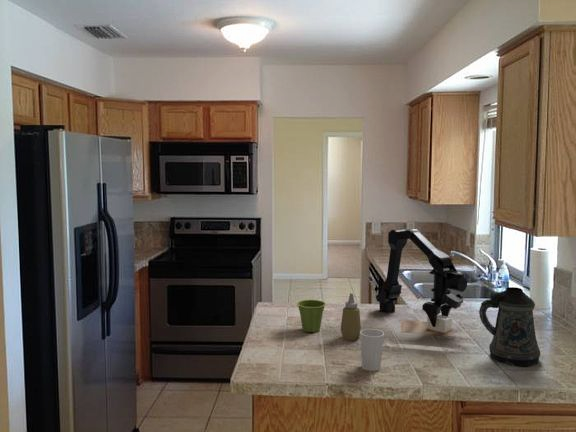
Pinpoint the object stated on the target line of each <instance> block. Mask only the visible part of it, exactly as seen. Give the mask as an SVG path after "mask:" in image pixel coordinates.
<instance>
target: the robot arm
mask: <svg viewBox="0 0 576 432" xmlns="http://www.w3.org/2000/svg"><path fill="white" fill-rule="evenodd" d="M387 236H388V237H387V243H388V245H389V248H390V251H389V258H388V266H387V272H386V279H385V280H384V281H383V283H382V285H381V288H380V291H379V293H377V294H376V295H375V299H376V302H379V312H381V313H385V314H389V313H395V312H396V303H395V302H396V301H398V299H399V297H400V294H402V287H403V286H402V284H400V283H399V272H400V268H401V261H402V255H403V254H402V252H403V249H404V248H405V246H406V245H407V242H408V240H410V241H411V242H412V243H413V244H414V245H415V246H416V247H417V248H418V249H419V250H420V252H422V253H423V255H425V257H426V258H427V261H428V264H430V266H431V268H432V270H430V271H429V274H430V275H432V276H433V287H432V288H430V289H431V292H432V294H433V295H432V298H431V299H430V301H426V302H425V303H423V304H422V306H421V307H422V310H423V311H424V313H425V314H426V316H428V318H429V320H430V322H431V324H432V326H433V327H436V321H437V315H438V314H439V315H444V316H448V317H449V315H450V312H451V310H452V309H455V310H457V309H458V308H460V307H461V305H462V303H464V297H463V294H461V293H463V292H464V291H466V289H467V287H468V281H467V279H466V278H465V274H463V273H458V271H457V268H456V266H455V264H454V263H453V259H452V257H450V256H449V255H448V254H447V253H446V252H444V251H442V250H440V249H438V248H436V247H435V246H434V244H432V243H431V242H430V241H429V240H428V239H427V238H426V237H425V236H424V235H423V234H422V233H421V232H420V231H419V230H418V229H417V228H413V229H412V228H411V229H407V230H406V229H405V228H399V229H391V230H390V231H389V232H388V234H387ZM451 290H452V291H456V292H461V293H457V294H453V293H452V291H451Z"/></svg>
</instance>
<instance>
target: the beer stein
mask: <svg viewBox="0 0 576 432" xmlns="http://www.w3.org/2000/svg"><path fill="white" fill-rule="evenodd" d="M535 306H536V302H534V300H533V299H532V298H531V297H529V296H528V294H526V293H525V292H524V290H523V288H521V287H514V286H513V287H510V286H509V287H506V289H505V290H503V291H497V292H492V293H491V294H490V299H485V300H484V301H482V302H481V303H480V307H479V310H478V313H479V315H478V316H479V318H480V322H481V323H482V324H483V325H482V326H484V328H485V329H486V330H487V331H488V332H489V333H490V334H491V335H492V336H493V337H492V339H491V342H490V343H489V347H488V348H489V353H490V357H491V358H492V359H493V360H495V361H496V362H497V363H501V364H503V365H506V366H510V367H518V368H529V367H535V366H537V365H538V364H539V360H540V357H541V350H540V348H539V344H538V340H537V336H536V329H535V320H534V319H535V318H534V309H535ZM489 308H492V309H498V311H497V314H496V320H495V326H493V325H492V323H491V322H490V320H489V318H488V315H487V310H488V309H489Z"/></svg>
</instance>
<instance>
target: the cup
mask: <svg viewBox="0 0 576 432" xmlns="http://www.w3.org/2000/svg"><path fill="white" fill-rule="evenodd" d="M384 337H385V332H384V331H382V330H380V329H376V328H364V329H361V331H360V335H359V339H360V353H361V354H360V355H361V368H362V369H363V370H364V371H367V372H377V371H380V370H381V368H382V364H381V363H382V354H383V345H384Z"/></svg>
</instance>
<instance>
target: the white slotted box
mask: <svg viewBox="0 0 576 432" xmlns="http://www.w3.org/2000/svg"><path fill="white" fill-rule="evenodd" d="M426 316H427V315H426ZM426 322H427V328H428V329H431V330H435V331H439V332H443V333H446V332H448V331H450V330H452V331H453V328H452V327H453V317H451V316H449V315H448V316H444V315H442V314H440V313H439V314H438V315H437V321H436V327H433V326H432V324H431V322H430V320H429V318H428V316H427V319H426Z"/></svg>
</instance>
